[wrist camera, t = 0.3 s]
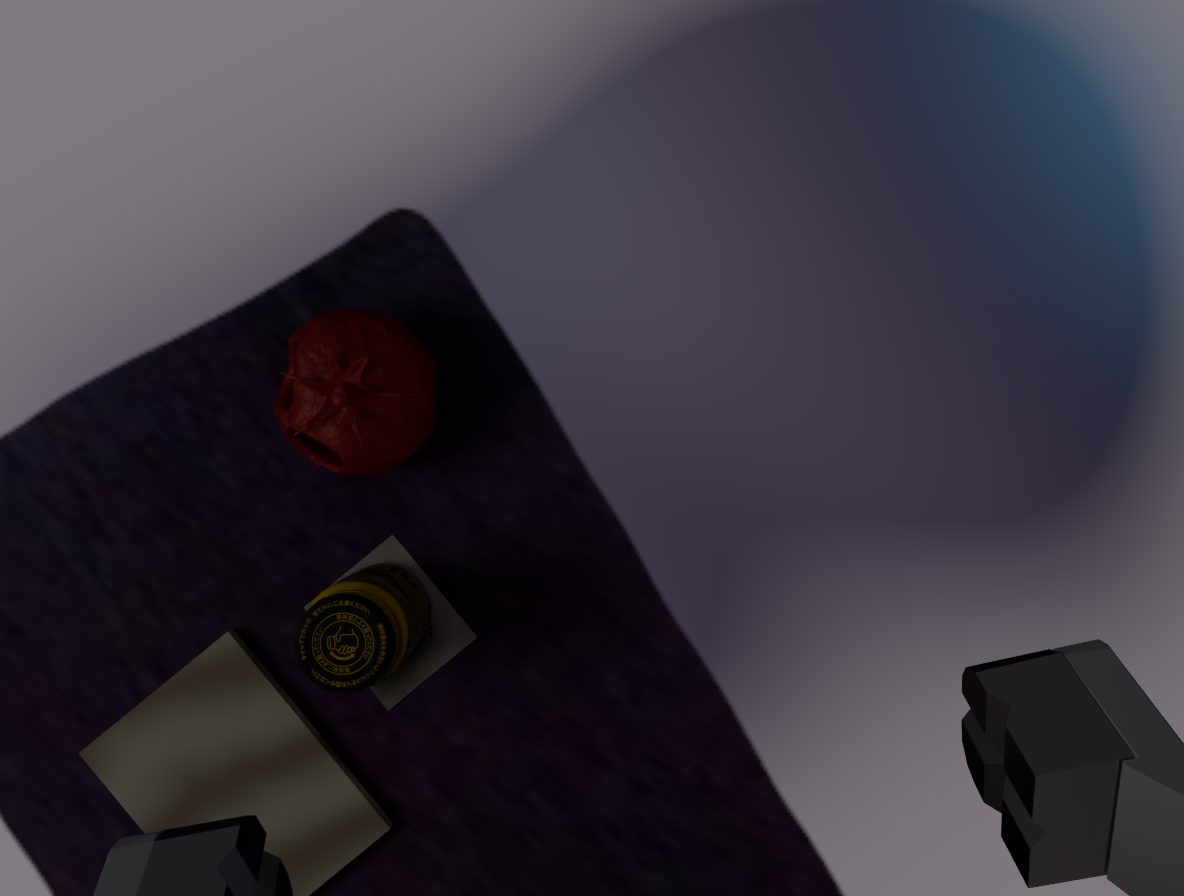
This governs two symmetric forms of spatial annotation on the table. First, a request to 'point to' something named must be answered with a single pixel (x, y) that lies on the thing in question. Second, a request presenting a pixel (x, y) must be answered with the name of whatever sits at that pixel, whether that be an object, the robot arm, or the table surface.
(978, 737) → the robot arm
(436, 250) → the table surface
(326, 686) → the condiment
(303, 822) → the board
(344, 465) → the pomegranate
